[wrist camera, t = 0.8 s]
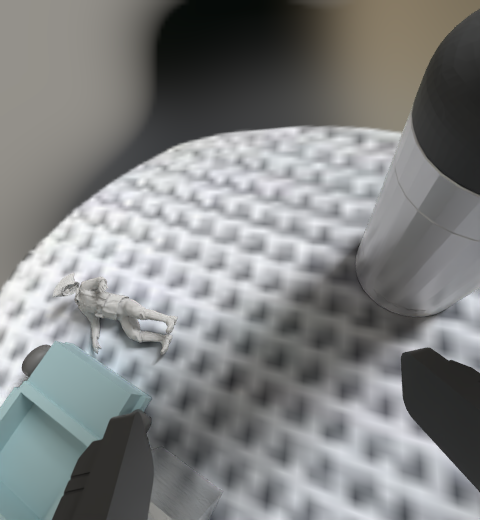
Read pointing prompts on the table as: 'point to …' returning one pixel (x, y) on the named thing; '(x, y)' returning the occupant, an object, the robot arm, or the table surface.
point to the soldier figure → (113, 310)
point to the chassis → (56, 425)
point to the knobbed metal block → (180, 490)
